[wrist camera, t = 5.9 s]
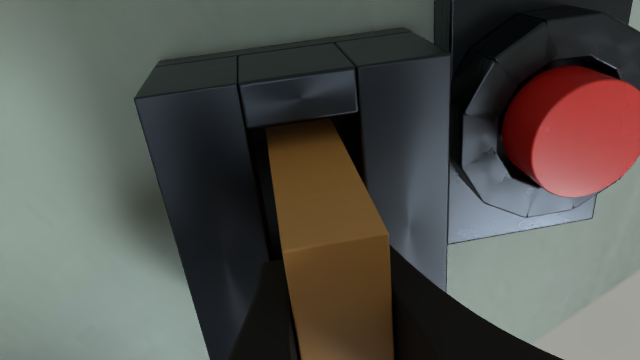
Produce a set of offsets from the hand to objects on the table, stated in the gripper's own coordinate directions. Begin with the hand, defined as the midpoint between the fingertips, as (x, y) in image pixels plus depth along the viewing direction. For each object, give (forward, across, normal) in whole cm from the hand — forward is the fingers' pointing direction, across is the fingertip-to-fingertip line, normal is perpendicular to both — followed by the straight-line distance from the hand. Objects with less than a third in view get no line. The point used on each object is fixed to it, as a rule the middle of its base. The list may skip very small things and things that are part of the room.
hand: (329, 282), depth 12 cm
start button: (+3, -8, -2) cm, 9 cm away
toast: (+4, 0, 0) cm, 4 cm away
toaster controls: (+6, -8, -2) cm, 10 cm away
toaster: (+6, 0, 0) cm, 6 cm away
